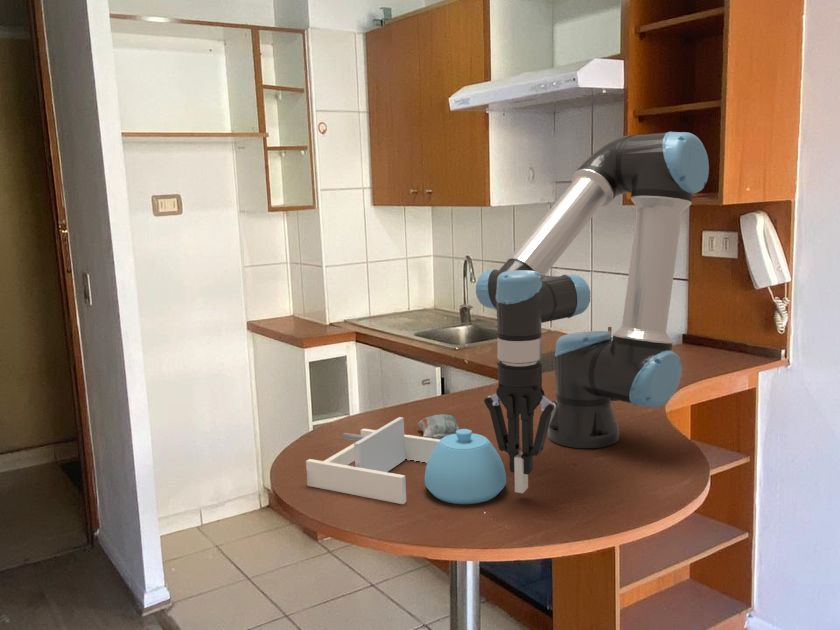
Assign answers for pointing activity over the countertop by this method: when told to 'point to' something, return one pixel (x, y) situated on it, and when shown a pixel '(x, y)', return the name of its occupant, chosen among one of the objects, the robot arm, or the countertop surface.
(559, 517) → the countertop surface
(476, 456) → the sugar bowl
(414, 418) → the countertop surface
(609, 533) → the countertop surface
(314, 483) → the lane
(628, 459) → the countertop surface
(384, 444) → the pusher
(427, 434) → the packaged food
